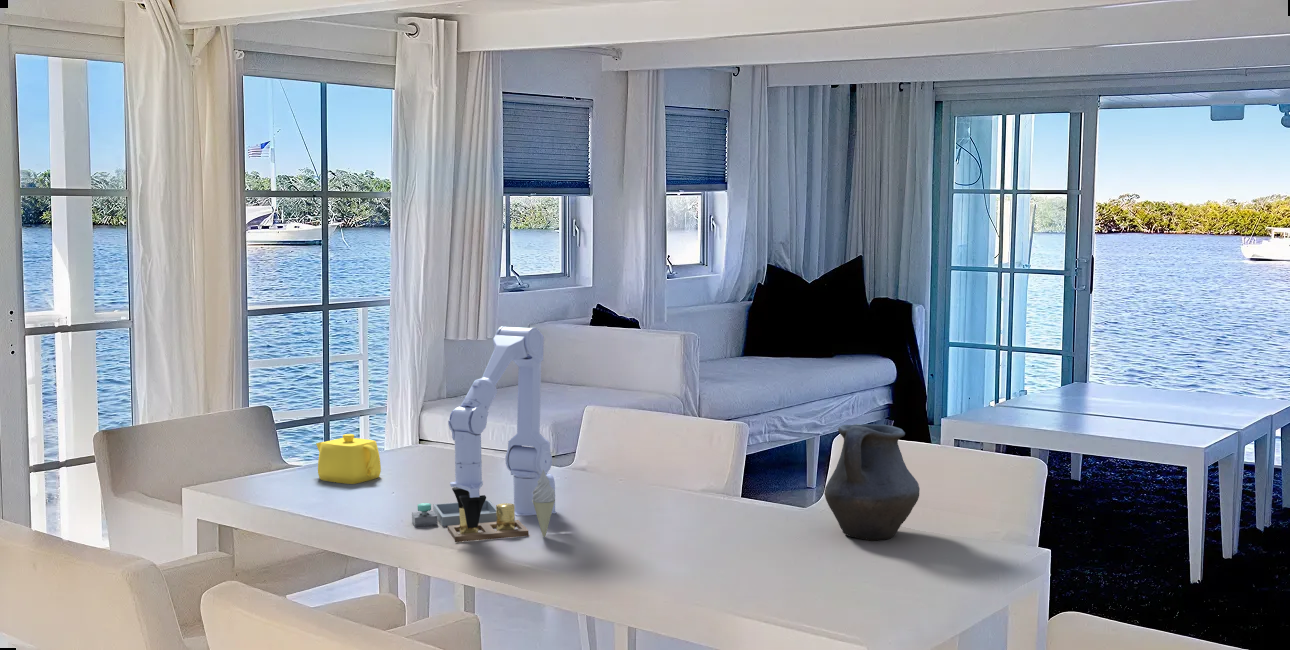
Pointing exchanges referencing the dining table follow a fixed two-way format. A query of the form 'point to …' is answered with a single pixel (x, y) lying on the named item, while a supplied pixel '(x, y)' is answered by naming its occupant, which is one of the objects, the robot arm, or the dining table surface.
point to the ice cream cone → (543, 502)
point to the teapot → (348, 460)
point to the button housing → (424, 519)
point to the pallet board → (488, 532)
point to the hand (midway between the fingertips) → (469, 523)
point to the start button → (424, 508)
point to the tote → (450, 513)
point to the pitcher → (871, 483)
